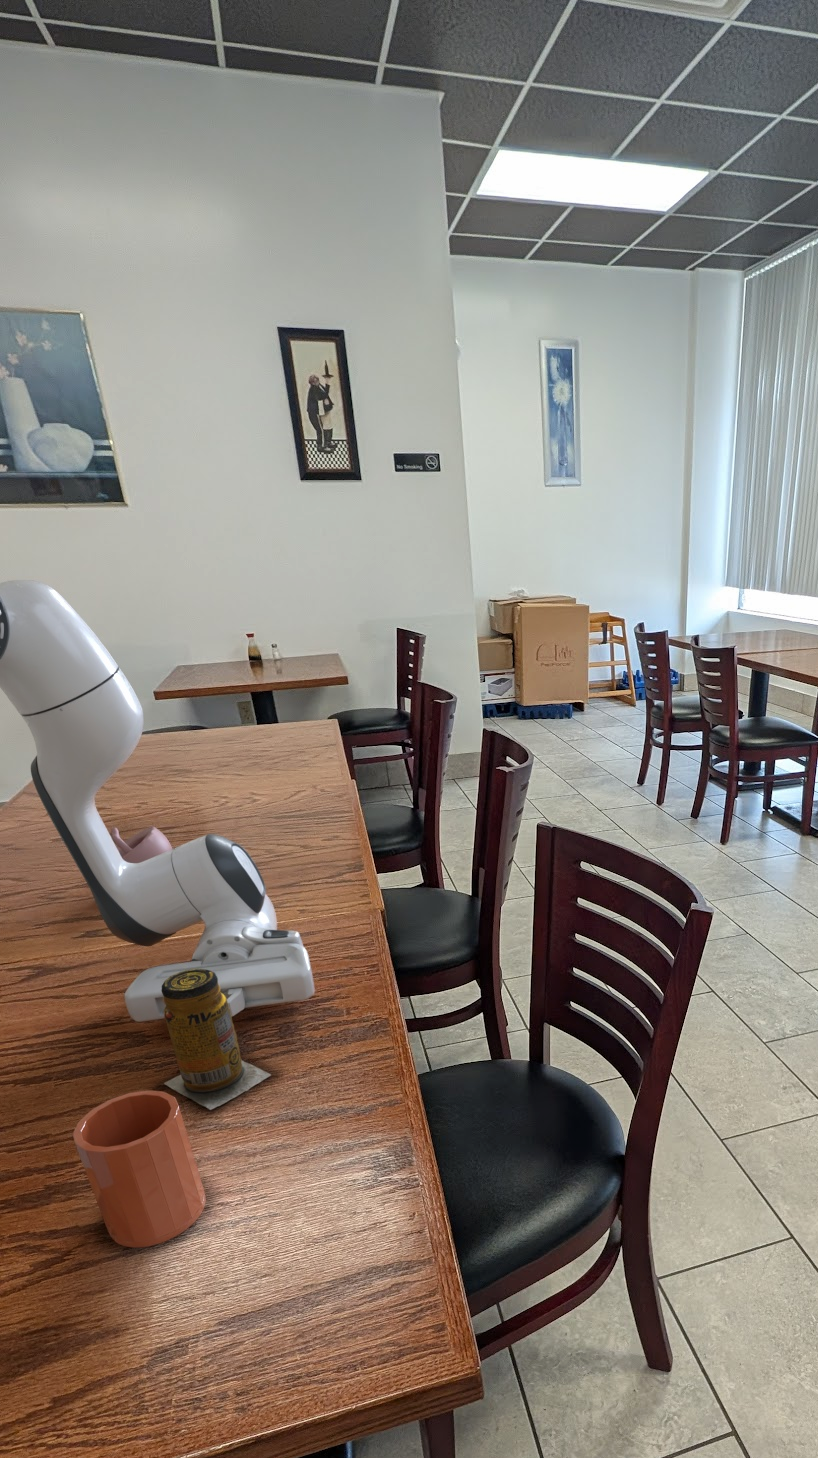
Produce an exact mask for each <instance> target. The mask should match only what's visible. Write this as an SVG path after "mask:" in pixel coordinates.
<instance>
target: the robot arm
mask: <svg viewBox="0 0 818 1458" xmlns="http://www.w3.org/2000/svg"><path fill="white" fill-rule="evenodd" d="M0 689H1V691H3V693H4V694H5V696H6V698H7V699H8V700H9V701H10V702H11V704H12V705H13V707H14V708H15V710H16V711H17V712H18V713H19V714H20V716H21V717H22V718H23V720H24V722H25V723H26V725H27V727H28V729H29V730H30V733H31V735H32V737H33V741H34V744H35V749H36V755H35V757H34V759H33V760H32V761H31V764H30V774H31V778H32V782H33V785H34V787H35V790H36V793H37V795H38V797H39V799H40V801H41V803H42V805H43V807H44V809H45V810H46V813H47V814H48V816H49V818H50V820H51V823H52V824H53V825H54V827H55V829H56V831H57V833H58V835H59V836H60V838H61V840H62V842H63V843H64V845H65V847H66V849H67V850H68V852H69V854H70V856H71V857H72V859H73V861H74V863H75V865H76V867H77V868H78V870H79V872H80V873H81V875H82V877H83V878H84V880H85V882H86V884H87V886H88V888H89V890H90V892H91V894H92V897H93V900H94V901H95V905H96V907H97V909H98V911H99V913H100V915H101V918H102V920H103V921H104V924H105V925H106V927H107V929H108V930H109V931H110V933H111V934H113V936H115V937H116V938H117V939H119V940H122V941H125V942H127V943H130V944H133V945H138V946H142V947H152V946H155V945H157V944H158V943H160V942H162V941H164V940H166V939H168V938H170V937H172V936H173V935H175V934H177V933H178V932H180V931H182V930H185V929H187V928H190V927H192V926H194V925H197V924H199V923H201V922H203V923H204V929H203V932H202V934H201V935H200V937H199V940H198V942H197V944H196V947H195V949H194V952H193V954H192V957H191V960H190V961H185V962H175V963H169V964H168V963H167V964H161V965H156V966H155V965H154V966H151V967H149V968H147V969H145V970H143V971H142V972H141V973H140V974H139V975H137V977H136V978H135V979H134V980H132V982H131V983H130V985H129V986H128V988H127V989H126V990H125V993H124V994H123V995H124V1003H125V1006H126V1010H127V1012H128V1016H129V1017H130V1018H131V1019H132V1020H133V1021H135V1022H137V1023H142V1022H149V1021H150V1022H151V1021H158V1020H165V1017H164V1009H165V1007H166V1004H165V1003H164V996H163V993H162V991H161V990H162V985H163V983H164V982H165V980H166V979H168V978H169V977H170V976H172V975H174V974H177V973H179V972H182V971H186V970H191V969H206V970H210V971H212V972H214V973H215V974H216V976H217V978H218V984H219V986H220V989H221V993H222V994H224V996H225V997H226V999H227V1002H228V1006H229V1009H230V1011H231V1018H232V1017H234V1016H236V1015H237V1014H238V1013H240V1012H242V1011H243V1010H244V1009H247V1008H248V1009H249V1008H255V1007H262V1006H270V1005H271V1006H272V1005H277V1004H285V1003H293V1002H301V1001H307V1000H309V999H310V998H311V997H313V996H314V995H315V992H316V990H315V981H314V976H313V975H314V974H313V970H312V966H311V962H310V956H309V953H308V950H307V949H306V947H305V946H304V942H303V940H302V937H301V935H300V932H299V931H296V930H285V929H284V930H283V929H282V930H281V929H278V919H277V918H278V917H277V912H276V910H275V906H274V905H273V902H272V901H271V899H270V897H269V896H268V895H267V894H266V892H267V891H266V884H265V882H264V879H263V877H262V874H261V871H260V869H259V868H258V866H257V864H256V863H255V861H254V860H253V858H252V857H251V855H250V854H249V853H248V851H246V849H245V848H244V847H243V846H241V845H240V844H238V843H237V842H235V841H233V840H231V839H229V838H227V837H225V836H223V835H218V834H215V833H208V834H206V835H203V836H200V837H198V838H194V839H193V840H189V841H187V842H185V843H183V844H181V845H178V846H175V847H174V848H172V850H170V851H167V852H165V853H162V854H160V855H158V856H155V857H153V858H150V859H148V860H145V861H143V862H140V863H129V862H126V861H124V860H123V859H122V857H121V855H120V853H119V851H118V849H117V848H116V847H117V845H116V844H115V843H114V842H113V840H112V838H111V837H112V835H111V834H110V832H109V830H108V828H107V826H106V825H105V823H104V821H103V819H102V817H101V816H100V814H99V812H98V809H97V807H96V802H95V801H96V800H95V798H96V795H97V793H98V791H99V790H100V789H101V788H102V787H103V786H104V785H105V784H106V782H108V781H109V780H110V778H111V777H113V775H114V774H116V773H117V772H118V770H120V769H121V768H122V766H123V765H125V763H126V762H127V761H128V759H129V758H130V757H131V756H132V754H133V752H134V751H135V749H136V748H137V746H138V745H139V742H140V741H141V737H142V734H143V731H144V725H145V724H144V721H145V720H144V719H145V718H144V709H143V706H142V704H141V702H140V700H139V697H138V696H137V694H136V692H135V690H134V688H133V687H132V685H131V683H130V681H129V680H128V678H127V677H126V675H125V673H124V672H123V670H122V669H121V668H120V666H119V665H118V663H117V662H116V660H115V659H114V658H113V656H112V654H111V653H110V652H109V650H108V649H107V647H106V646H105V645H104V644H103V642H102V641H101V640H100V638H99V637H98V636H97V634H96V633H95V632H94V631H93V630H92V628H91V627H90V626H89V624H87V622H86V621H85V620H84V619H83V617H82V616H81V615H80V614H79V613H78V612H77V611H76V610H75V608H73V607H72V606H71V605H70V603H69V602H68V601H67V600H66V599H65V598H64V597H63V596H62V595H61V594H60V593H59V592H58V591H57V590H55V589H54V588H53V587H51V586H49V585H47V584H46V583H44V582H40V581H38V580H30V579H12V580H6V581H2V582H0Z"/></svg>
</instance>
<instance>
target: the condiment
mask: <svg viewBox="0 0 818 1458" xmlns="http://www.w3.org/2000/svg"><path fill="white" fill-rule="evenodd" d="M161 991H162V993H163V996H164V1003H165V1004H166V1007H165V1009H164V1017H165V1019H164V1021H165V1023H166V1026H167V1030H168V1033H169V1037H170V1041H171V1044H172V1048H173V1051H174V1056H175V1058H176V1062H177V1066H178V1069H179V1072H180V1074H178V1075H176V1076H175V1077H173V1078H171V1079H169V1080H168V1081H167V1080H166V1081H165V1082H164V1083H163V1084H164V1085H165V1086H167V1087H169V1088H170V1089H172V1090H173V1091H175V1092H177V1093H178V1094H180V1095H182V1096H184V1097H186V1098H188V1099H191V1100H192V1101H193V1102H195V1103H197V1104H198V1105H200V1106H202V1107H205V1108H207V1109H208V1110H210V1111H212V1110H214V1109H216V1108H217V1107H220V1106H222V1105H224V1104H225V1103H227V1102H229V1101H230V1100H233V1099H235V1098H237V1097H239V1096H240V1095H242V1094H243V1093H245V1092H249V1090H250V1089H252V1088H253V1087H255V1086H256V1085H257V1084H260V1083H262V1082H263V1081H264V1080H266V1079H267V1078H269V1077H271V1076H272V1074H271V1073H269V1072H267V1071H265V1070H263V1069H261V1068H259V1067H257V1066H255V1065H253V1064H251V1063H249V1062H246V1061H244V1060H243V1059H242V1057H241V1052H240V1051H241V1049H240V1044H239V1042H238V1034H237V1032H236V1030H235V1025H234V1023H233V1018H232V1017H231V1011H230V1009H229V1006H228V1002H227V999H226V997H225V996H224V994H222V993H221V989H220V986H219V984H218V978H217V976H216V974H215V973H214V972H212V971H210V970H206V969H191V970H186V971H182V972H179V973H177V974H174V975H172V976H170V977H169V978H168V979H166V980H165V982H164V983H163V985H162V990H161Z"/></svg>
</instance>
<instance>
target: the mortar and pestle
mask: <svg viewBox="0 0 818 1458" xmlns="http://www.w3.org/2000/svg"><path fill="white" fill-rule="evenodd" d="M110 833H111V838H112V840H113V842H114V844H115V846H116V848H117V849H118V851H119V853H120V855H121V857H122V859H123V860H124V861H126V862H129V863H140V862H143V861H145V860H148V859H150V858H153V857H155V856H158V855H160V854H162V853H165V852H167V851H170V850H172V849H173V847H172V844H171V843H170V841H169V839H168V838H167V836H166V835H165V834H164V833H163V832H162V831H160V830H159V829H158V828H157V827H155V826H153V825H151V826H149V827H147V828H144V829H142V830H140V831H138V832H137V833H135V834H134V835H132V836H130V837H129V838H127V839H125V840H123V839H122V838H121V837H120V832H119V830H118V828H117V827H111V828H110Z"/></svg>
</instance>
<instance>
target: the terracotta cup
mask: <svg viewBox="0 0 818 1458" xmlns="http://www.w3.org/2000/svg"><path fill="white" fill-rule="evenodd" d="M176 1098H177V1097H175V1096H173V1095H171V1094H170V1093H168V1092H165V1091H162V1090H161V1091H160V1090H151V1089H150V1090H149V1089H148V1090H140V1091H134V1092H133V1091H132V1092H129V1093H125V1094H122V1095H119V1096H116V1097H113V1098H111V1099H108V1100H106V1101H104V1102H103V1103H101V1104H99V1105H98V1106H96V1107H93V1108H92V1109H91V1110H89V1111H88V1113H86V1114H85V1115H84V1116H83V1117H82V1118H81V1119H80V1120H79V1121H78V1122H77V1124H76V1125H75V1126H76V1127H75V1128H74V1130H73V1132H72V1137H73V1142H74V1145H75V1148H76V1150H77V1153H78V1156H79V1158H80V1161H81V1164H82V1166H83V1169H84V1172H85V1174H86V1177H87V1179H88V1182H89V1185H90V1187H91V1190H92V1193H93V1195H94V1198H95V1201H96V1204H97V1206H98V1209H99V1211H100V1214H101V1217H102V1219H103V1222H104V1224H105V1227H106V1230H107V1232H108V1234H109V1237H110V1238H111V1239H112V1241H114V1242H115V1243H117V1245H120V1246H123V1247H125V1248H126V1247H127V1248H134V1249H135V1248H147V1247H152V1246H156V1245H159V1244H162V1243H165V1242H167V1241H169V1240H171V1239H173V1238H175V1237H177V1236H179V1235H181V1234H182V1233H183V1232H185V1231H187V1229H189V1228H190V1227H191V1226H192V1225H194V1224H195V1223H196V1221H197V1220H198V1219H199V1218H200V1216H201V1215H202V1213H203V1211H204V1209H205V1206H206V1201H207V1200H206V1192H205V1188H204V1185H203V1182H202V1178H201V1175H200V1171H199V1168H198V1165H197V1162H196V1159H195V1155H194V1152H193V1149H192V1145H191V1142H190V1139H189V1135H188V1132H187V1127H186V1126H185V1125H186V1124H185V1122H184V1118H183V1115H182V1112H181V1108H180V1106H179V1103H178V1101H177V1099H176Z"/></svg>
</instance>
